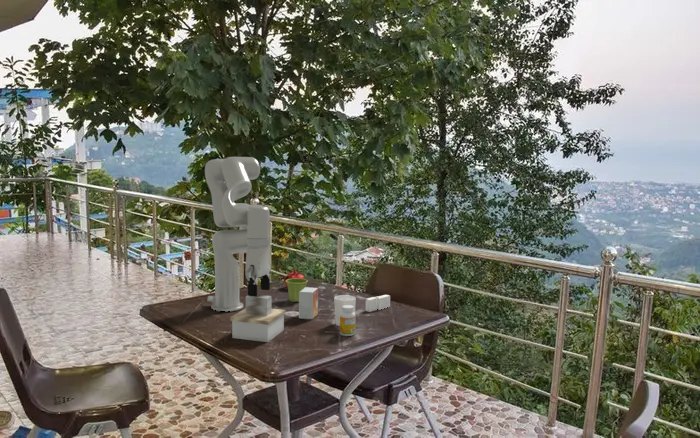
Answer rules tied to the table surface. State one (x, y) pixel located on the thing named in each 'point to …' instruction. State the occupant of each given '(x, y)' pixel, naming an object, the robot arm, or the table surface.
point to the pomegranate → (293, 276)
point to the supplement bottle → (347, 320)
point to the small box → (308, 303)
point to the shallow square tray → (257, 330)
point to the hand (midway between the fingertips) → (259, 292)
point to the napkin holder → (377, 303)
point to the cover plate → (257, 318)
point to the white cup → (340, 302)
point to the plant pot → (295, 288)
